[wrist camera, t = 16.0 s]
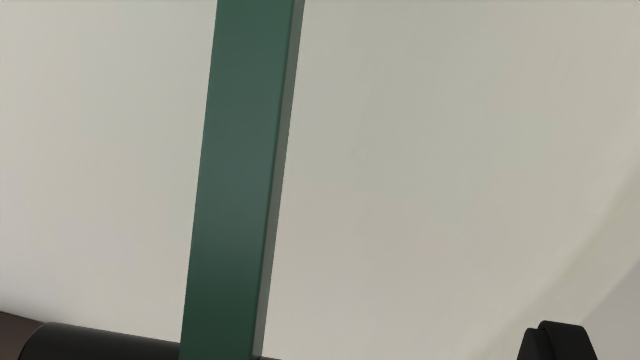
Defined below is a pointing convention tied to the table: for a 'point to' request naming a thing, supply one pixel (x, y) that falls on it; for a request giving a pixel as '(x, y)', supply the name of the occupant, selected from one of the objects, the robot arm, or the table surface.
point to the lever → (222, 199)
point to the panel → (14, 335)
